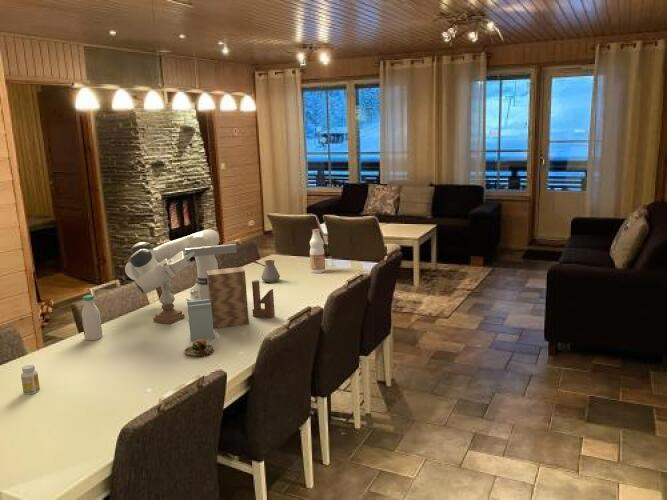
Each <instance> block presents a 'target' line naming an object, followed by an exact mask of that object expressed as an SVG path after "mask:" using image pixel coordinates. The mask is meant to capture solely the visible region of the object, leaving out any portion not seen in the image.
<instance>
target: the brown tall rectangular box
mask: <svg viewBox="0 0 667 500" xmlns="http://www.w3.org/2000/svg"><path fill="white" fill-rule="evenodd" d="M207 282H208V293H209V299H210V303H211V309H212V320H213V330H216V329H223V328H230V327H238V326H244V325H246V326H247V325H249V324H250V320H249V307H248V294H247V280H246V270H245V269H244V268H243V266H238V267H228V268H218V269H217V270H208V271H207Z"/></svg>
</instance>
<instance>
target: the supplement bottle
mask: <svg viewBox="0 0 667 500" xmlns="http://www.w3.org/2000/svg"><path fill="white" fill-rule="evenodd" d="M21 369H22V373H21V374H20V377H21V385H22V392H23V394H24V395H27V396H28V395H29V396H30V395H34V394H36V393H38V392H39V391H40V388H41V387H40V382H39V381H40V380H39V373H38V371H37V370H36V367H35V365H34V364H26V365H24V366H23V367H21Z"/></svg>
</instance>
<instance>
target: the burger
mask: <svg viewBox="0 0 667 500" xmlns="http://www.w3.org/2000/svg"><path fill="white" fill-rule="evenodd" d="M195 342H196V343H195ZM195 342H193V343H192V345H191V346H189V347H187V348H186V349H185V350H184V353H185V354H186V355H189V356H192V357H199V356H202V358H206V357H208V354H209V355H213V354H214V351H215V350H214V346H212V345H211V344H207V341H206V339H198V340H197V341H195Z"/></svg>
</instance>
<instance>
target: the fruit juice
mask: <svg viewBox="0 0 667 500" xmlns="http://www.w3.org/2000/svg"><path fill="white" fill-rule="evenodd" d="M311 232H312V234H311V238H310V240H309V246H310V249H309V260H310V263H309V264H310V272H311V273H312V274H321V273H325V272H326V260H325V259H326V257H325V249H324V244H325V243H324V240H323V238H322V237H321V234H320V232H321V230H320V228H313V229H312V230H311Z"/></svg>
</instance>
